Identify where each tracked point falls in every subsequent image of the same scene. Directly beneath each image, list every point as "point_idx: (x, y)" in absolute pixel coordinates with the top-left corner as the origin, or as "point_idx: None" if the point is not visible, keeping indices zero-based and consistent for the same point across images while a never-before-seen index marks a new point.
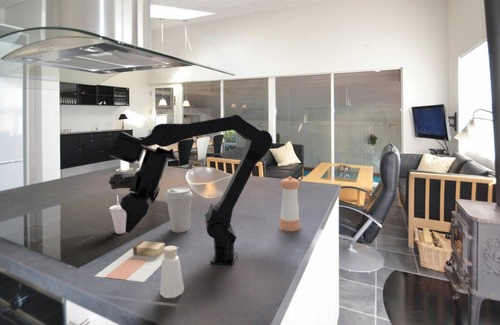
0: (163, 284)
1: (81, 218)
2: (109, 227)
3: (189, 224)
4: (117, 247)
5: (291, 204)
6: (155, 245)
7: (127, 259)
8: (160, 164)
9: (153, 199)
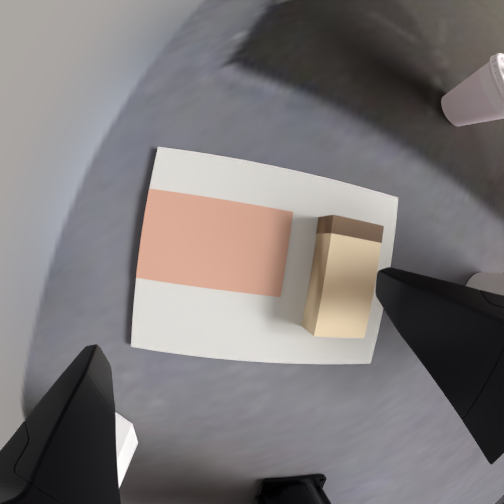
0: None
1: (468, 9)
2: (464, 70)
3: None
4: (372, 127)
5: None
6: (345, 310)
7: (279, 211)
8: None
9: (493, 455)
